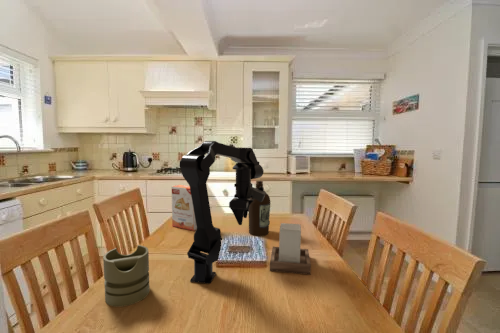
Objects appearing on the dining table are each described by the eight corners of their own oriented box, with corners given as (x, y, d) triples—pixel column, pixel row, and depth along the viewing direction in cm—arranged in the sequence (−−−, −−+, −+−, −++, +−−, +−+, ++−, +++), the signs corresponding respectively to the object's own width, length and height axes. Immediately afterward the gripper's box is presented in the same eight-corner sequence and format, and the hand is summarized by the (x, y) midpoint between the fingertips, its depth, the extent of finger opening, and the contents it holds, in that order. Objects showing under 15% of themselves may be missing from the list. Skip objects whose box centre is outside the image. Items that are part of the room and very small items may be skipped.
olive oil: (243, 232, 123) (243, 180, 121) (258, 227, 130) (259, 178, 128) (258, 238, 116) (259, 183, 113) (274, 233, 123) (275, 181, 121)
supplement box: (300, 266, 88) (301, 230, 86) (278, 264, 89) (279, 228, 88) (300, 257, 95) (301, 223, 94) (279, 255, 96) (280, 222, 95)
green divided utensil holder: (149, 257, 69) (100, 265, 64) (150, 300, 70) (102, 311, 65) (147, 242, 79) (105, 248, 74) (148, 280, 80) (107, 287, 76)
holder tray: (310, 274, 84) (310, 265, 84) (269, 270, 86) (269, 262, 86) (308, 256, 98) (308, 249, 97) (272, 254, 100) (272, 246, 99)
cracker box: (171, 226, 130) (170, 185, 128) (179, 223, 136) (179, 184, 134) (193, 231, 124) (192, 188, 122) (201, 227, 129) (200, 186, 127)
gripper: (260, 185, 86) (260, 230, 88) (267, 178, 105) (266, 215, 106) (228, 184, 88) (228, 228, 90) (240, 177, 107) (240, 214, 108)
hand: (242, 221), depth 98 cm, fingers open, 9 cm apart
